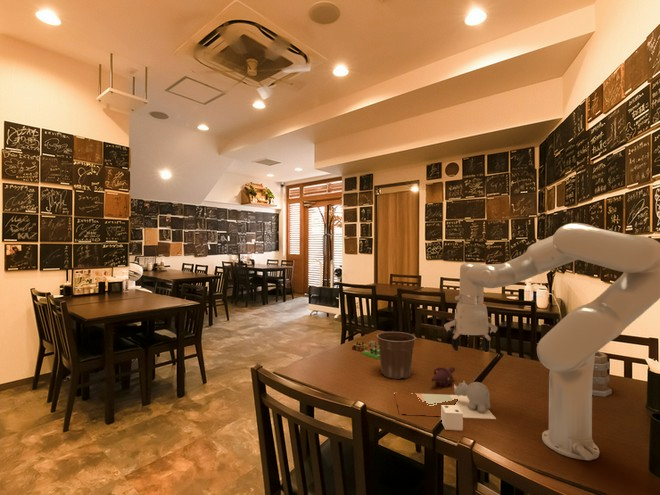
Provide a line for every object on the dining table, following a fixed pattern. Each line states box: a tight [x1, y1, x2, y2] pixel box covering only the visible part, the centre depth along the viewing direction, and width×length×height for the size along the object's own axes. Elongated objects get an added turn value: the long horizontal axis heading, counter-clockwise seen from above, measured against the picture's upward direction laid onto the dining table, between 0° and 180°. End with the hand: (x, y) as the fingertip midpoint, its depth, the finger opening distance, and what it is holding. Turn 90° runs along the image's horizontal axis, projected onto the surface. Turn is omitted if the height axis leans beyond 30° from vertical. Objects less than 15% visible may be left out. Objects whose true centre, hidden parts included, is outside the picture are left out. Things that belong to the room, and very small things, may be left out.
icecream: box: [431, 366, 456, 387], centre depth 131 cm, size 7×7×15 cm
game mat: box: [393, 392, 497, 420], centre depth 114 cm, size 16×30×1 cm, turn 86°
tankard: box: [592, 351, 613, 398], centre depth 128 cm, size 20×13×15 cm, turn 74°
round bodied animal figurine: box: [453, 380, 491, 413], centre depth 113 cm, size 7×12×8 cm, turn 42°
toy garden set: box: [351, 340, 380, 360], centre depth 175 cm, size 23×19×5 cm
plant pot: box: [376, 331, 417, 380], centre depth 142 cm, size 16×16×16 cm
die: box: [440, 405, 464, 431], centre depth 101 cm, size 5×5×5 cm
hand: (470, 350), depth 113 cm, fingers open, 9 cm apart
